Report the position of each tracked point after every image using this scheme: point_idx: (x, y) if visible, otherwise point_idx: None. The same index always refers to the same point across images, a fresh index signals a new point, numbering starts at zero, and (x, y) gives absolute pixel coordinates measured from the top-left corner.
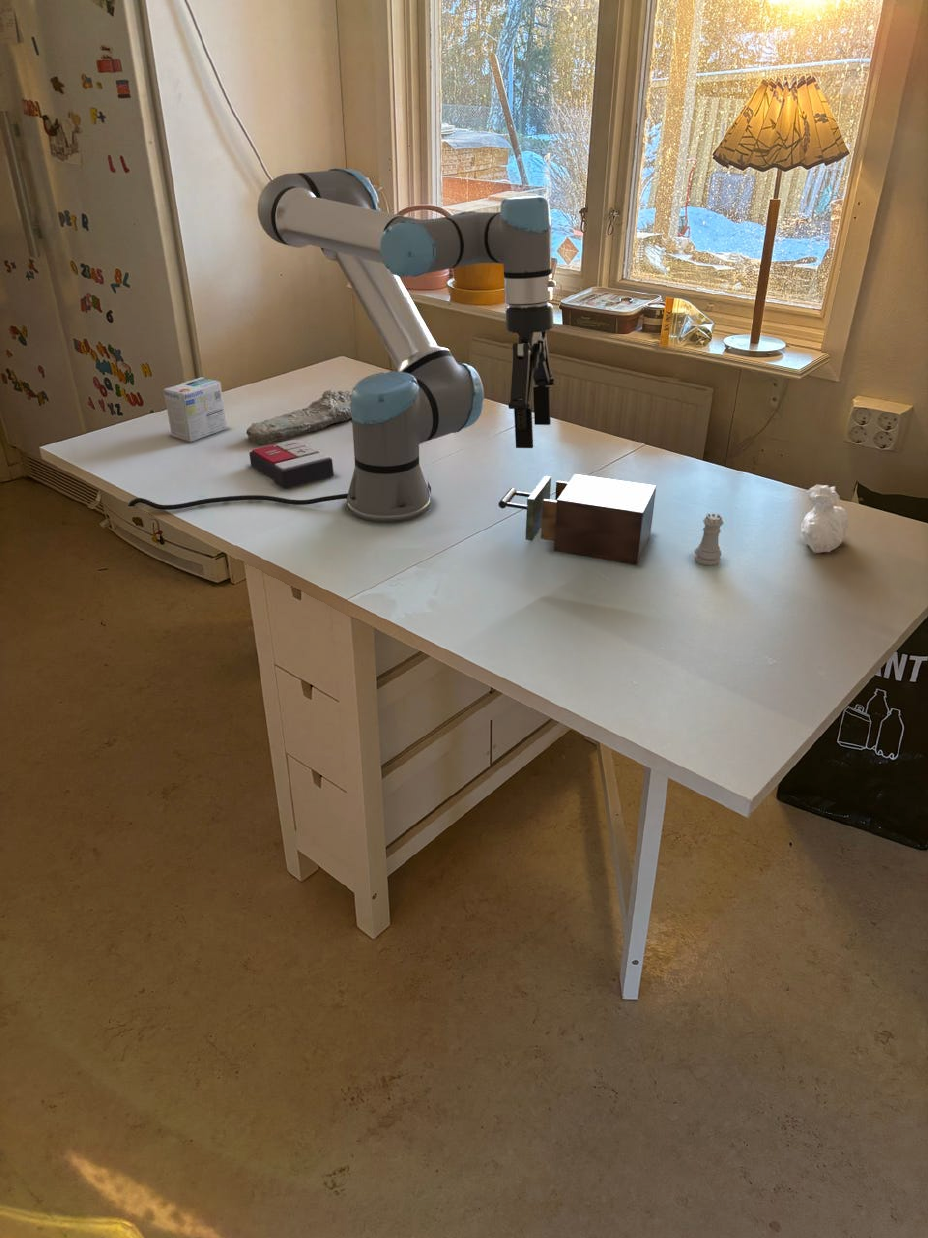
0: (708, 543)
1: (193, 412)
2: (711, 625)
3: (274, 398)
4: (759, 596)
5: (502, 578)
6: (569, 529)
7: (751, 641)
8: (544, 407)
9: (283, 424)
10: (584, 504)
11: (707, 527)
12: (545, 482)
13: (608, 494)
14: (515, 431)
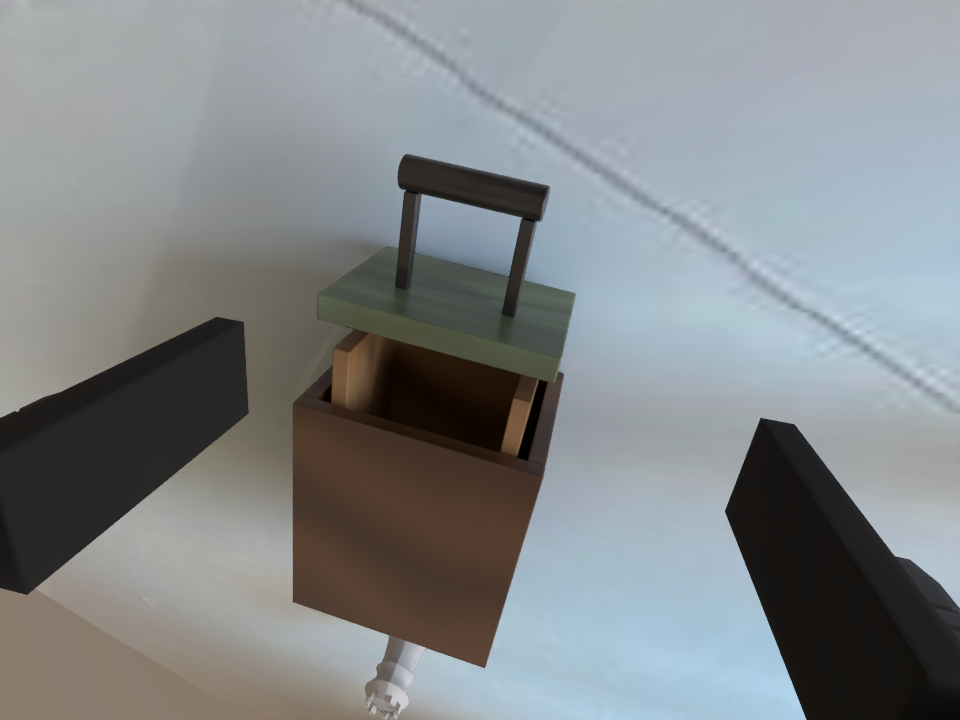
0: (387, 645)
1: None
2: (201, 560)
3: None
4: (315, 640)
5: (192, 193)
6: None
7: (184, 595)
8: (778, 576)
9: None
10: (293, 478)
11: (378, 675)
12: (488, 360)
13: (382, 549)
14: (137, 357)
